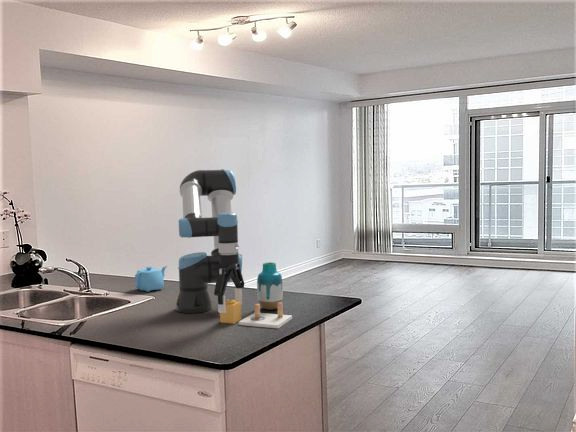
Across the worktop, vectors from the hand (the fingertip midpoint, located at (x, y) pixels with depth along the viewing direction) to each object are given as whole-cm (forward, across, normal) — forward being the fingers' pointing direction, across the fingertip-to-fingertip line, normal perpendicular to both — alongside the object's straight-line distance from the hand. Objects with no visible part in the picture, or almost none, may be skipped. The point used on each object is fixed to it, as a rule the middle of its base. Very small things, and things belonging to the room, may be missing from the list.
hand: (230, 308), depth 215 cm
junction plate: (+5, +4, -13) cm, 15 cm away
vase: (+5, +22, -7) cm, 23 cm away
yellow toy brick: (+5, 0, 0) cm, 5 cm away
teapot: (+4, +40, +65) cm, 77 cm away
